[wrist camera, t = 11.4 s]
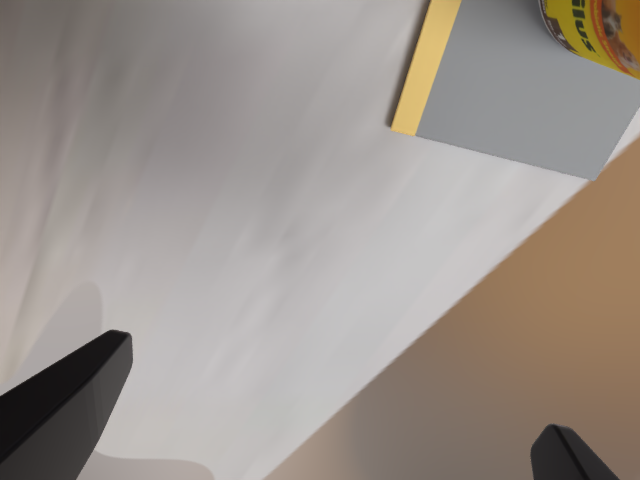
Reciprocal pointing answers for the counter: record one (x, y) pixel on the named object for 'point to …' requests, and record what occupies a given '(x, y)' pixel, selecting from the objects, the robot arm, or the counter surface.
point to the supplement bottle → (597, 30)
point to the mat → (512, 89)
